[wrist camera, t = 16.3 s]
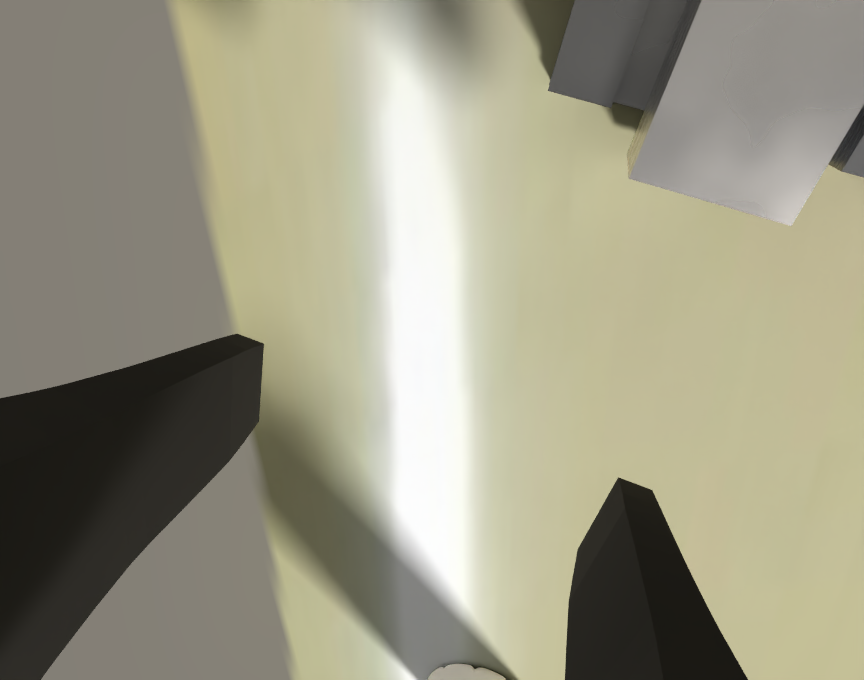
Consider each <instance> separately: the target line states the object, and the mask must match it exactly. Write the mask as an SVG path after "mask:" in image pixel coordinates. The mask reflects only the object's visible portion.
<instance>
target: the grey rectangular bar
mask: <svg viewBox="0 0 864 680" xmlns="http://www.w3.org/2000/svg"><path fill="white" fill-rule="evenodd" d="M863 105H864V0H688V2H687V4H686V7H685V9H684V12H683V14H682V17H681V19H680V22H679V24H678V27H677V29H676V32H675V34H674V37H673V39H672V42H671V44H670V47H669V50H668V52H667V55H666V57H665V60H664V62H663V65H662V67H661V70H660V72H659V75H658V77H657V80H656V82H655V85H654V87H653V90H652V92H651V95H650V97H649V100H648V102H647V105H646V107H645V110H644V112H643V115H642V117H641V120H640V122H639V125H638V127H637V130H636V132H635V135H634V137H633V140H632V142H631V145H630V148H629V150H628V153H627V160H628V174H629V179H632V180H636V181H639V182H643V183H646V184H649V185H653V186H656V187H660V188H663V189H666V190H670V191H673V192H677V193H680V194H684V195H687V196H690V197H694V198H697V199H701V200H704V201H707V202H711V203H714V204H718V205H721V206H725V207H728V208H731V209H735V210H738V211H742V212H745V213H748V214H752V215H755V216H759V217H762V218H766V219H769V220H772V221H776V222H779V223H783V224H786V225H789V226H792V224H793V222H794V221H795V219H796V217H797V216H798V214H799V212H800V211H801V209H802V207H803V206H804V204H805V202H806V201H807V199H808V197H809V196H810V194H811V192H812V191H813V189H814V187H815V185H816V184H817V182H818V180H819V179H820V177H821V175H822V174H823V172H824V170H825V169H826V167H827V165H828V164H829V162H830V160H831V159H832V157H833V155H834V154H835V152H836V150H837V149H838V147H839V145H840V143H841V142H842V140H843V138H844V137H845V135H846V133H847V132H848V130H849V128H850V127H851V125H852V123H853V122H854V120H855V118H856V117H857V115H858V113H859V112H860V110H861V108H862V106H863Z"/></svg>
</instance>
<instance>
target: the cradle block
mask: <svg viewBox="0 0 864 680" xmlns="http://www.w3.org/2000/svg"><path fill="white" fill-rule="evenodd" d="M687 2H688V0H575V1H574V4H573V8H572V11H571V14H570V18H569V21H568V24H567V27H566V31H565V34H564V37H563V41H562V44H561V47H560V50H559V54H558V57H557V60H556V64H555V67H554V70H553V73H552V77H551V80H550V83H549V85H550V86H549V89H548V91H551V92H554V93H558V94H562V95H565V96H569V97H573V98H576V99H580V100H584V101H587V102H591V103H595V104H598V105H602V106H605V107H609V108H611V107H612V104H613V102H615V103H618V104H622V105H626V106H629V107H633V108H637V109H640V110H645V107H646V105H647V102H648V100H649V97H650V95H651V92H652V90H653V87H654V85H655V82H656V80H657V77H658V75H659V72H660V70H661V67H662V65H663V62H664V60H665V57H666V55H667V52H668V50H669V47H670V44H671V42H672V39H673V37H674V34H675V32H676V29H677V27H678V24H679V22H680V19H681V17H682V14H683V12H684V9H685V7H686V4H687ZM829 165H831V166H833V167H834V168H836V169H838V170H840V171H842V172H846V173H850V174H853V175H857V176H860V177H864V105H863V106H862V108H861V110H860V112H859V113H858V115H857V117H856V118H855V120H854V122H853V123H852V125H851V127H850V128H849V130H848V132H847V133H846V135H845V137H844V138H843V140H842V142H841V143H840V145H839V147H838V149H837V150H836V152H835V154H834V155H833V157H832V159H831V160H830V162H829Z"/></svg>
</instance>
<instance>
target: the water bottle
mask: <svg viewBox="0 0 864 680" xmlns="http://www.w3.org/2000/svg"><path fill="white" fill-rule="evenodd" d="M427 680H506V679H505V678H504V677H503V676H502V675H500V674H498V673H495V672H493V671H491V670H488V669H485V668H477V669H474V668H473V667H472V666H471V665H467V664H451V665H448V666H446V667H445V668H444V667H440V668H438V669H436V670H435V671H433V672H432V673H431V674H430V676H429V677H428V679H427Z"/></svg>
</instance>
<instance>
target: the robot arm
mask: <svg viewBox="0 0 864 680" xmlns="http://www.w3.org/2000/svg"><path fill="white" fill-rule="evenodd" d="M263 349H264V344H263V343H260V342H258V341H255V340H252V339H250V338H247V337H244V336H242V335H239V334H234V335H230V336H227V337H223V338H219V339H216V340H213V341H210V342H206V343H203V344H200V345H197V346H194V347H190V348H187V349H184V350H181V351H178V352H175V353H171V354H168V355H165V356H162V357H159V358H155V359H153V360H149V361H146V362H143V363H139V364H136V365H133V366H130V367H126V368H123V369H119V370H115V371H112V372H108V373H104V374H101V375H97V376H94V377H90V378H86V379H83V380H79V381H75V382H72V383H68V384H64V385H60V386H57V387H52V388H47V389H43V390H39V391H34V392H30V393H25V394H20V395H15V396H10V397H5V398H0V680H41V679H42V677H43V676H44V674H45V673H46V672H47V670H48V669H49V667H50V666H51V665H52V663H53V662H54V661H55V659H56V658H57V657H58V655H59V654H60V653H61V652H62V650H63V649H64V648H65V646H66V645H67V644H68V642H69V641H70V640H71V639H72V637H73V636H74V635H75V633H76V632H77V631H78V629H79V628H80V627H81V626H82V624H83V623H84V622H85V620H86V619H87V618H88V616H89V615H90V614H91V612H92V611H93V610H94V609H95V607H96V606H97V605H98V604H99V603H100V601H101V600H102V599H103V598H104V596H105V595H106V594H107V593H108V591H109V590H110V589H111V588H112V586H113V585H114V584H115V583H116V581H117V580H118V579H119V578H120V576H121V575H122V574H123V573H124V571H125V570H126V569H127V568H128V567H129V565H130V564H131V563H132V562H133V561H134V560H135V558H137V556H138V555H139V554H140V553H141V552H142V551H143V550H144V549H145V548H146V547H147V545H148V544H149V543H150V542H151V541H152V540H153V539H154V538H155V537H156V536H157V535H158V534H159V533H160V532H161V531H162V530H163V529H164V528H165V527H166V526H167V525H168V524H169V523H170V522H171V521H172V520H173V519H174V518H175V517H176V516H177V515H178V514H179V513H180V512H181V511H182V509H184V507H185V506H186V505H187V504H188V503H189V502H190V501H191V500H192V499H193V498H194V497H195V496H196V495H197V494H198V493H199V492H200V491H201V490H202V489H203V488H204V487H205V486H206V485H207V484H208V483H209V482H210V481H211V480H212V478H214V477H215V476H216V474H217V473H218V472H219V471H220V470H221V469H222V468H223V467H224V466H225V465H226V464H227V463H228V462H229V461H230V459H231V458H232V457H233V456H234V454H235V453H236V452H237V450H238V449H239V448H240V446H241V445H242V444H243V443H244V441H245V440H246V438H247V437H248V436H249V434H250V433H251V431H252V430H253V429H254V427H255V426H256V424H257V423H258V422H259V411H260V395H261V380H262V364H263ZM565 680H748V679H747V677H746V675H745V674H744V672H743V670H742V669H741V667H740V665H739V663H738V661H737V660H736V658H735V656H734V654H733V653H732V651H731V649H730V647H729V646H728V644H727V642H726V640H725V638H724V637H723V635H722V633H721V631H720V630H719V628H718V626H717V624H716V622H715V620H714V618H713V616H712V615H711V613H710V611H709V609H708V607H707V605H706V603H705V601H704V599H703V597H702V595H701V593H700V591H699V589H698V587H697V585H696V583H695V581H694V579H693V577H692V575H691V573H690V571H689V569H688V567H687V565H686V562H685V560H684V558H683V556H682V554H681V552H680V550H679V547H678V545H677V543H676V541H675V539H674V537H673V535H672V532H671V530H670V528H669V526H668V524H667V521H666V519H665V517H664V515H663V513H662V510H661V508H660V506H659V504H658V502H657V500H656V498H655V495H654V493H653V491H652V490H650V489H648V488H645V487H642V486H640V485H637V484H634V483H632V482H629V481H626V480H624V479H621V478H618V479H617V481H616V483H615V484H614V486H613V488H612V490H611V491H610V493H609V495H608V497H607V499H606V500H605V502H604V504H603V506H602V507H601V509H600V511H599V513H598V515H597V516H596V518H595V520H594V522H593V523H592V525H591V527H590V529H589V531H588V532H587V534H586V536H585V538H584V539H583V541H582V543H581V545H580V546H579V548H578V551H577V557H576V562H575V568H574V574H573V579H572V586H571V592H570V598H569V608H568V627H567V646H566V669H565Z"/></svg>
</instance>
